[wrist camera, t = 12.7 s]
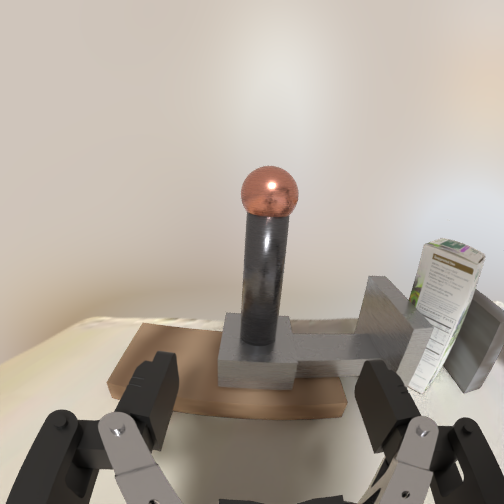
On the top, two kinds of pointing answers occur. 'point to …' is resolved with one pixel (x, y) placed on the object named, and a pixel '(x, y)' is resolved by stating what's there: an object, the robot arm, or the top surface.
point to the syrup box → (443, 300)
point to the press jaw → (278, 327)
